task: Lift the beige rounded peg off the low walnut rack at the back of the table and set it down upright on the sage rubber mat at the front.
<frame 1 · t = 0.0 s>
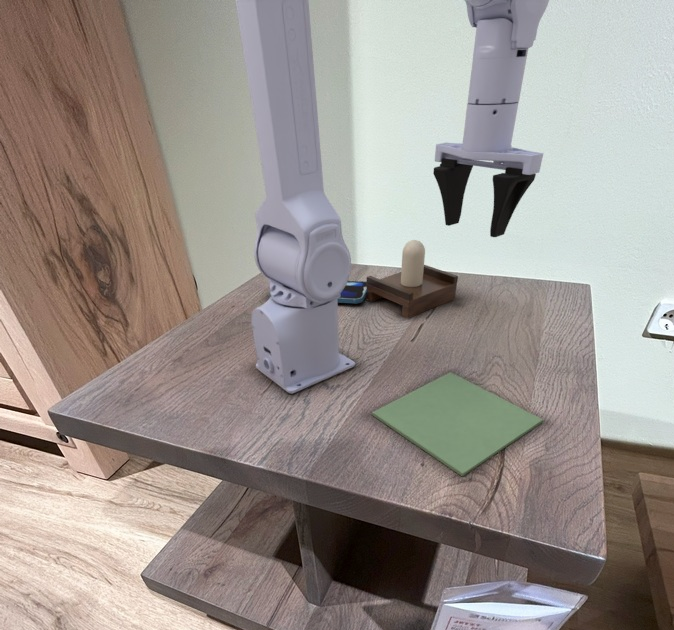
hand: (473, 229, 61), 10 cm above the table, tool pointing down, fingers open, 7 cm apart
smartphone: (320, 294, 72), on the table
beige rounded peg: (411, 283, 67), point 2 cm above the table, touching rack
mat: (455, 418, 46), on the table
rack: (410, 299, 69), on the table
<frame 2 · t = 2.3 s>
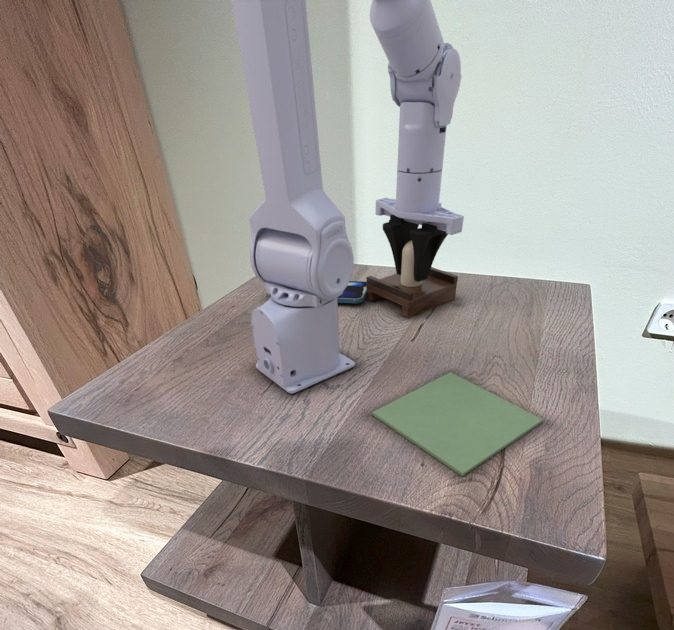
hand: (412, 276, 67), 4 cm above the table, tool pointing down, fingers closed on beige rounded peg, 3 cm apart
beige rounded peg: (411, 283, 67), point 3 cm above the table, touching gripper, rack
everything else where it was.
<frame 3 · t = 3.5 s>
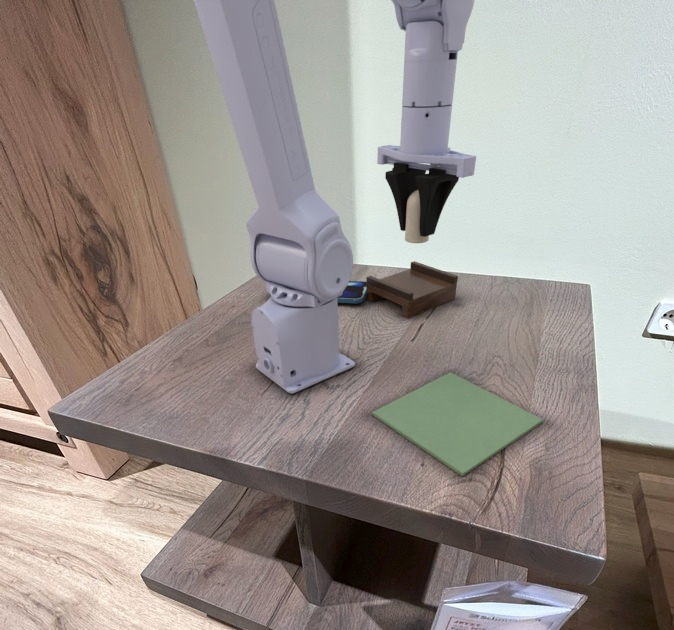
hand: (417, 232, 61), 10 cm above the table, tool pointing down, fingers closed on beige rounded peg, 3 cm apart
beige rounded peg: (416, 239, 62), point 9 cm above the table, touching gripper
everything else where it was.
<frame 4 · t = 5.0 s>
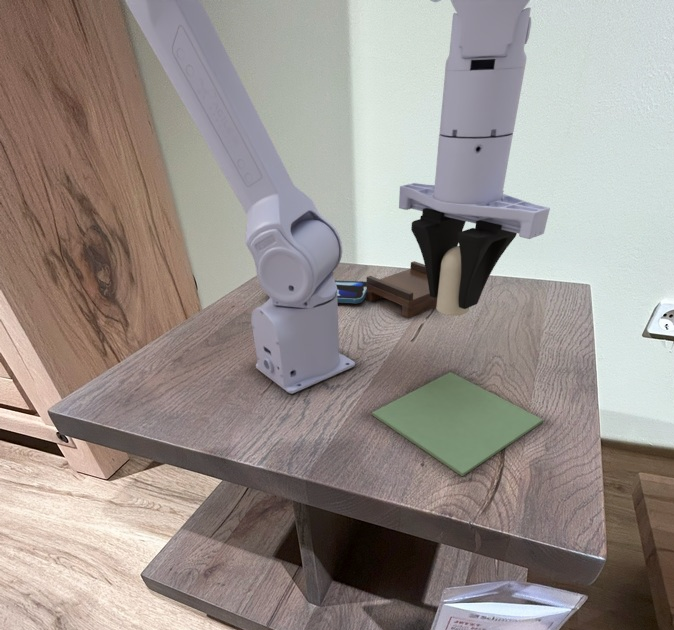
hand: (453, 299, 45), 10 cm above the table, tool pointing down, fingers closed on beige rounded peg, 3 cm apart
beige rounded peg: (452, 309, 46), point 9 cm above the table, touching gripper
everything else where it was.
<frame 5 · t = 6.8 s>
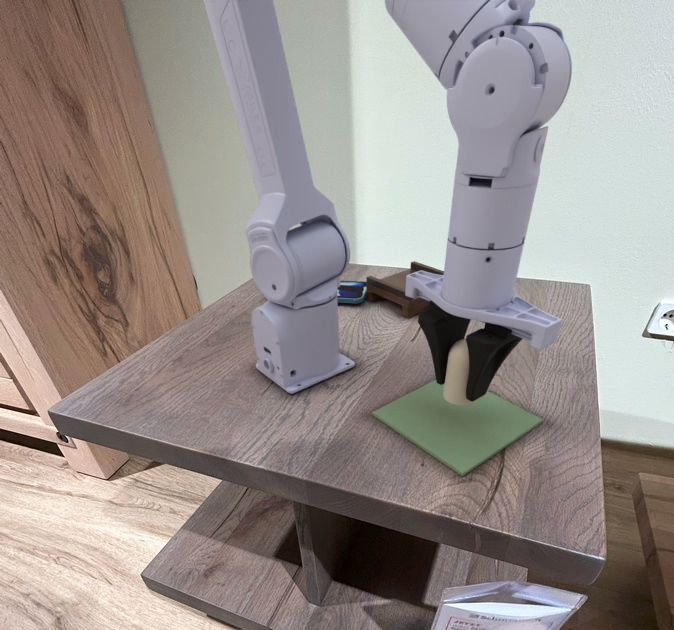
hand: (460, 388, 44), 4 cm above the table, tool pointing down, fingers closed on beige rounded peg, 3 cm apart
beige rounded peg: (459, 396, 44), point 3 cm above the table, touching gripper
everything else where it was.
when the fingers open (1 cm above the table, at t = 7.9 s): beige rounded peg stays where it is, resting on mat.
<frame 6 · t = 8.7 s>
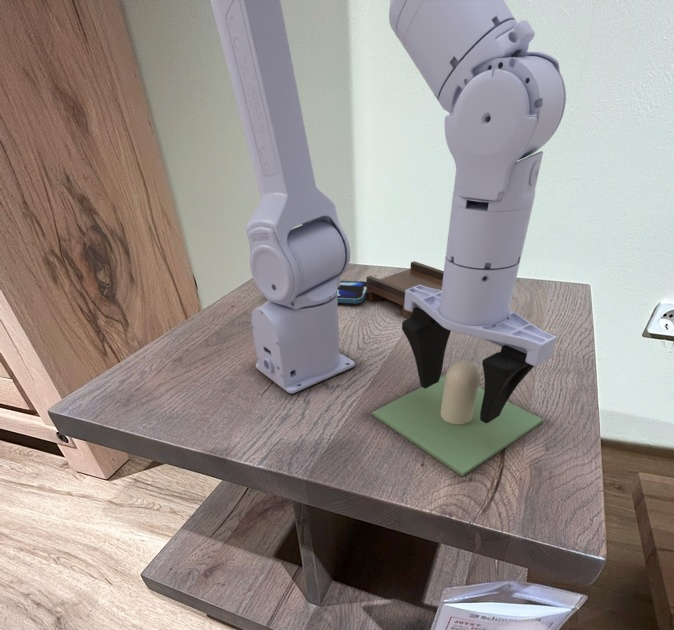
hand: (458, 400, 45), 2 cm above the table, tool pointing down, fingers open, 7 cm apart
beige rounded peg: (456, 415, 46), resting on mat
everything else where it was.
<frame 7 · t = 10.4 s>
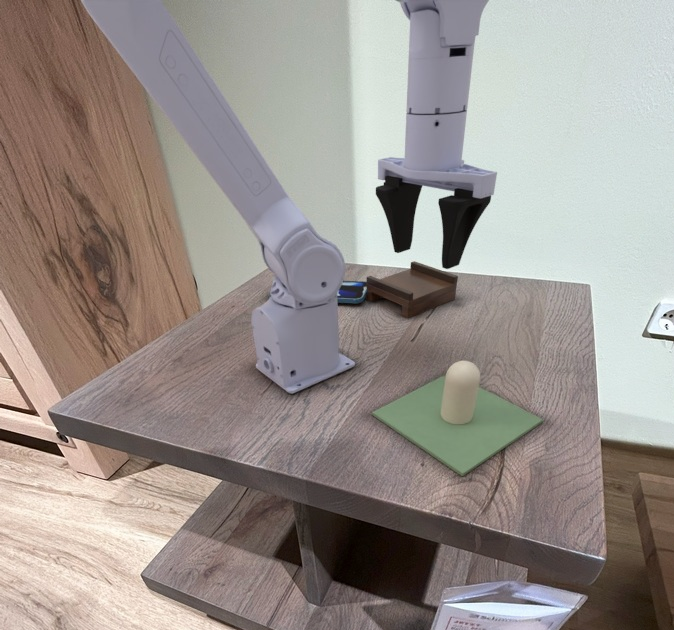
hand: (425, 258, 52), 10 cm above the table, tool pointing down, fingers open, 7 cm apart
nothing on the table moved.
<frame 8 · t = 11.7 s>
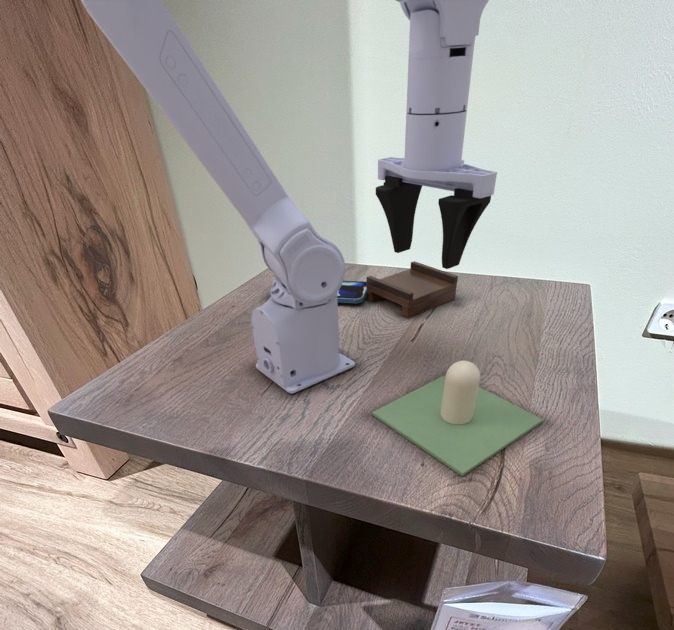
hand: (425, 258, 52), 10 cm above the table, tool pointing down, fingers open, 7 cm apart
nothing on the table moved.
at the end: beige rounded peg inside the target area on the mat (0.1 cm from its centre), point 0.4 cm above the mat's base; beige rounded peg touching mat; beige rounded peg tilted 0° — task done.
